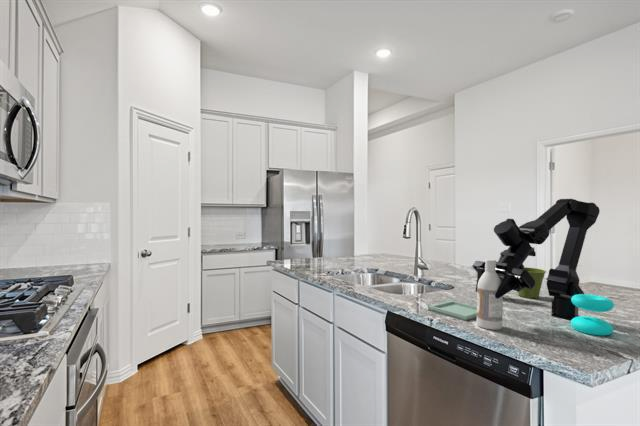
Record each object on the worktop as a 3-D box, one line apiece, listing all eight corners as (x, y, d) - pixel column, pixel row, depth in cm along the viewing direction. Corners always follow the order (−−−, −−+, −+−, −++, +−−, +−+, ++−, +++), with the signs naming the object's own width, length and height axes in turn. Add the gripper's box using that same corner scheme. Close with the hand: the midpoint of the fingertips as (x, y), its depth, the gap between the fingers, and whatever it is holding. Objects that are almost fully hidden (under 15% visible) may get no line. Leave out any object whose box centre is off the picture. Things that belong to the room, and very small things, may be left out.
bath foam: (475, 321, 112) (477, 257, 111) (500, 324, 109) (502, 259, 109) (477, 328, 105) (478, 260, 105) (503, 331, 103) (505, 262, 103)
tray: (488, 313, 121) (488, 309, 121) (465, 320, 112) (465, 316, 112) (451, 304, 132) (451, 300, 132) (428, 310, 123) (428, 305, 123)
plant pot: (516, 298, 143) (516, 270, 143) (509, 292, 154) (510, 266, 154) (549, 301, 140) (550, 272, 140) (540, 294, 151) (541, 268, 151)
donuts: (614, 303, 98) (569, 297, 104) (613, 339, 98) (568, 331, 104) (614, 297, 106) (572, 291, 112) (613, 330, 106) (572, 323, 112)
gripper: (556, 280, 104) (527, 321, 100) (502, 269, 121) (476, 304, 117) (537, 253, 101) (507, 295, 97) (485, 246, 118) (458, 281, 114)
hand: (486, 294), depth 107 cm, fingers closed on bath foam, 7 cm apart
